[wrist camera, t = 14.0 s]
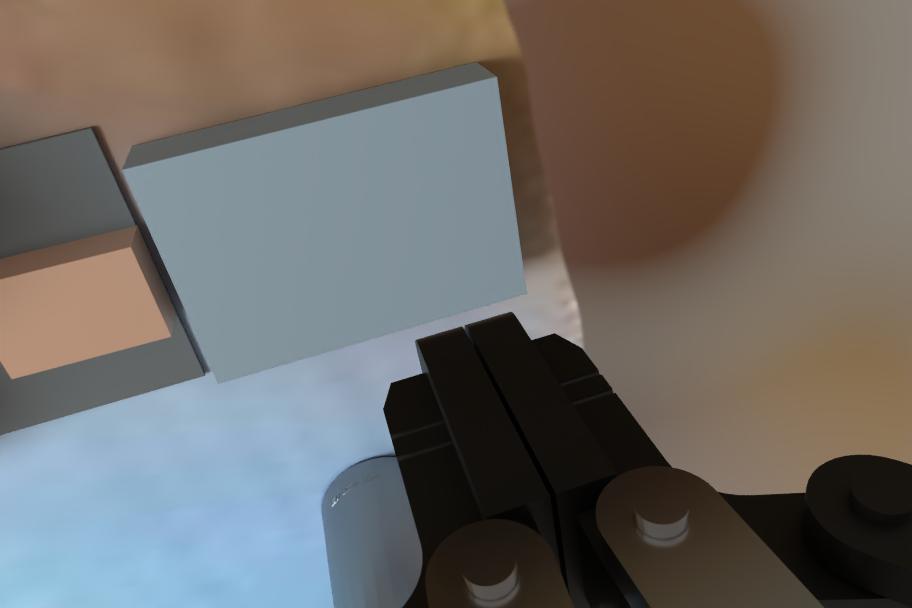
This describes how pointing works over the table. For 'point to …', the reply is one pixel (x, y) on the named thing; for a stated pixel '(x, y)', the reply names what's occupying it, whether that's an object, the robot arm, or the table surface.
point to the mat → (60, 221)
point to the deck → (335, 218)
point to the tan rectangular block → (80, 302)
